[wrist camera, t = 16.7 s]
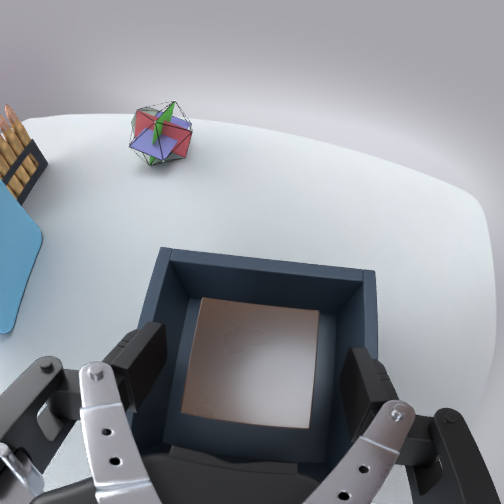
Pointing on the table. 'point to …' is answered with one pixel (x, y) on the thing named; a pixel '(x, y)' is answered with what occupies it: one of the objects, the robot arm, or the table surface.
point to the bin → (263, 293)
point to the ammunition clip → (19, 157)
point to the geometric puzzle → (160, 133)
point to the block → (252, 364)
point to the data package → (14, 255)
